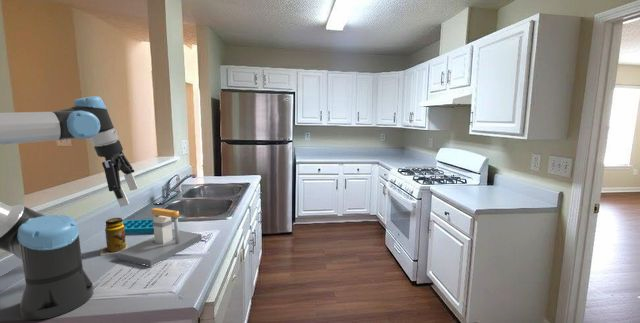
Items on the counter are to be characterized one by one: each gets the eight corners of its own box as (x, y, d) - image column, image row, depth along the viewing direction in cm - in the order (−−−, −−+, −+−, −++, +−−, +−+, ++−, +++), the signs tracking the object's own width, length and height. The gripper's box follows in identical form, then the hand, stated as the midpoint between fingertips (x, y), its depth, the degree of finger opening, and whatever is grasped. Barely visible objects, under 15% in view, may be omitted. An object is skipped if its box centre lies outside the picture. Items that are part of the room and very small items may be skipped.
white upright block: (163, 249, 114) (161, 219, 112) (154, 247, 116) (152, 218, 114) (173, 244, 118) (171, 216, 117) (164, 242, 120) (162, 214, 118)
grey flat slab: (151, 267, 101) (150, 260, 100) (118, 259, 106) (117, 252, 106) (201, 240, 123) (201, 234, 123) (172, 234, 129) (171, 229, 128)
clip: (177, 243, 113) (175, 213, 111) (153, 239, 117) (151, 209, 115) (182, 241, 115) (180, 211, 113) (158, 236, 119) (156, 207, 117)
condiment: (127, 250, 113) (124, 220, 112) (100, 256, 109) (96, 225, 107) (127, 243, 119) (124, 215, 118) (101, 248, 115) (97, 219, 113)
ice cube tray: (126, 226, 139) (125, 220, 138) (171, 224, 141) (171, 218, 141) (112, 236, 127) (111, 229, 127) (162, 234, 130) (161, 227, 130)
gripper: (107, 150, 90) (132, 210, 98) (128, 131, 113) (147, 181, 121) (79, 156, 89) (107, 216, 97) (106, 136, 111) (127, 186, 119)
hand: (130, 197), depth 109 cm, fingers open, 13 cm apart
